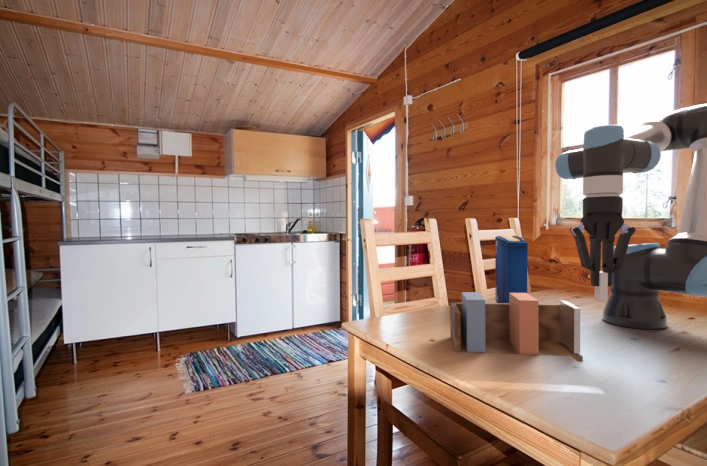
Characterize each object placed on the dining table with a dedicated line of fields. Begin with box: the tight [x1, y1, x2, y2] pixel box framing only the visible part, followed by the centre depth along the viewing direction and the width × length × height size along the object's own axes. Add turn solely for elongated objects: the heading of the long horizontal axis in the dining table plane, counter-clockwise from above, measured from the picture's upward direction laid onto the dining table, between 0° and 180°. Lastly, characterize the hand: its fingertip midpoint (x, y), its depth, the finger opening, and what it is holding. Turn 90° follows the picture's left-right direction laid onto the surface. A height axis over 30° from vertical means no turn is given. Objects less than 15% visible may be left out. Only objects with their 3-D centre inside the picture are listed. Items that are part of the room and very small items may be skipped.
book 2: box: [494, 235, 529, 303], centre depth 129 cm, size 22×7×25 cm, turn 168°
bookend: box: [559, 299, 581, 354], centre depth 88 cm, size 1×8×10 cm, turn 171°
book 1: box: [461, 291, 486, 352], centre depth 91 cm, size 4×9×12 cm, turn 171°
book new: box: [509, 292, 539, 355], centre depth 89 cm, size 4×9×12 cm, turn 171°
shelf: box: [449, 301, 584, 362], centre depth 91 cm, size 27×11×10 cm, turn 81°
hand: (600, 300), depth 86 cm, fingers closed
